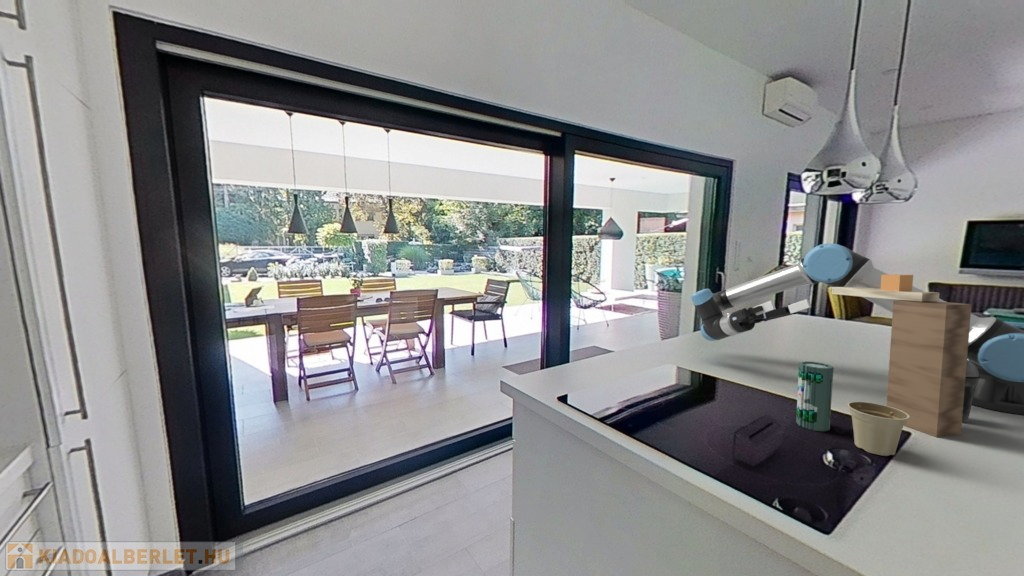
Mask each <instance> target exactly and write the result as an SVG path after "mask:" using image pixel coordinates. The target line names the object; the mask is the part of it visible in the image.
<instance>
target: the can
mask: <svg viewBox="0 0 1024 576" xmlns="http://www.w3.org/2000/svg"><path fill="white" fill-rule="evenodd" d="M797 376H798V377H797V380H798V381H797V397H796V418H795V419H796V420H795V423H796V424H797V425H798V426H799V427H802V428H803V429H804V428H805V429H808V430H812V431H815V432H828V431H830V430H831V413H832V397H833V380H834V379H833V378H834V366H832V365H830V364H826V363H823V362H815V361H800V362H799V363H798V375H797Z"/></svg>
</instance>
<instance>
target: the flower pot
mask: <svg viewBox="0 0 1024 576" xmlns="http://www.w3.org/2000/svg"><path fill="white" fill-rule="evenodd" d="M886 405H887V404H881V403H876V402H870V401H869V402H868V401H861V400H860V401H849V402H847V407H848V409H849V413H850V414H851V415H850V416H851V420H852V429H853V440H854V445H855V446H856V447H857V448H858V449H862V450H864V451H866V452H867V453H869V454H873V455H878V456H882V457H888V456H895V455H896V452H897V448H898V444H899V441H900V437H901V434H902V431H903V427H905V426H904V425H905V424H906V421H907V420H908V419H909V418H910V416H909V415H908V414H907V413H905V412H903V411H901V410H899V409H896V408H893V407H889V406H886Z"/></svg>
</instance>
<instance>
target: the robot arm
mask: <svg viewBox="0 0 1024 576" xmlns="http://www.w3.org/2000/svg"><path fill="white" fill-rule="evenodd" d="M889 274H890V273H886V272H884V271H882V270H880V269H878V268H876V267H875V266H874V265H873V261H872V259H870V258H867V257H865V256H864V255H861V254H860V253H857V252H855V251H853V250H851V249H850V248H848V247H847V246H844V245H841V244H838V243H830V242H828V243H822V244H821V243H820V244H819V245H817V246H814V247H813V248H811V249H810V250H809V251H808V252H807V254H806V255H805V256H804V257H803V258H800V259H799V261H798V262H797V263H796V264H792V265H789V266H786V267H784V268H781V269H779V270H776V271H774V272H771V273H768V274H765V275H763V276H759V277H756V278H754V279H752V280H748V281H745V282H743V283H739V284H737V285H735V286H732V287H729V288H726V289H723V290H721V291H720V290H719V291H716V292H715V293H713V292H712V291H711V289H710V288H703V289H701V290H698V291H696V292H694V293H693V294H691V295H690V298H691V301H692V304H693V305H694V307H695V310H696V312H697V314H698V315H699V317H700V319H701V321H702V325H700V334H701V336H702V338H703V339H704V340H706V341H709V342H715V341H720V340H723V339H726V338H728V337H734V336H735V335H739V334H743V333H746V332H748V331H752V330H753V329H754V327H755V326H756V324H759V323H762V322H768V321H771V320H774V319H780V318H783V317H784V318H785V317H788V316H792V315H797V313H798V312H801V311H804V310H807V309H810V308H812V305H811V303H810V300H809V299H808V298H805V299H802V300H800V301H797V302H794V303H788V304H787V306H783V307H779V308H776V305H775V303H774V300H771V299H770V300H768V301H765V302H763V303H761V304H757V305H756V306H752V307H748V309H747V308H745V307H744V308H741V309H739V310H735V311H734V312H731V313H730V312H728V313H726V314H725V315H724V314H723V312H724V311H726V310H729V309H731V308H734V307H737V306H741V305H744V304H747V303H751V302H753V301H757V300H760V299H762V298H763V299H764V298H766V297H769V296H772V295H775V294H778V293H782V292H785V291H787V290H791V289H794V288H797V287H801V286H804V285H807V284H811V285H817V284H818V283H823V284H825V285H827V286H829V287H831V288H832V287H858V288H874V289H881V276H882V275H889ZM912 291H921V292H925V291H924V290H922V289H920V288H919V287H916V286H913V285H912ZM862 298H863V299H865V300H867V301H869V302H871V303H873V304H875V305H876V306H879V307H881V308H883V309H884V310H886V311H887V312H890V313H892V314H893V301H894V300H897V299H885V298H873V297H862ZM938 302H947V301H945V300H943V299H941V298H939V301H938ZM722 311H723V312H722ZM967 360H968V361H970V362H971V363H973V364H974V365H975V366H976V368H977V369H978V372H979V376H980V378H979V380H978V383H977V385H976V387H975V392H974V396H973V401H972V405H973V406H975V407H980V408H983V409H987V410H993V411H998V412H1003V413H1009V414H1016V415H1024V322H1016V321H1015V322H1014V321H1003V320H1001V319H999V318H996V317H994V316H991V317H979V316H977V315H975V314H972V313H971V317H970V329H969V341H968V353H967ZM972 405H971V406H972Z"/></svg>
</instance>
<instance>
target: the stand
mask: <svg viewBox="0 0 1024 576" xmlns="http://www.w3.org/2000/svg"><path fill="white" fill-rule="evenodd" d="M971 314H972V304H971V303H960V302H950V301H949V302H948V301H946V302H938V301H927V302H920V301H908V300H894V301H893V313H892V318H891V319H892V320H891V332H890V334H891V335H890V349H889V360H888V361H889V363H888V365H889V366H888V376H887V377H888V378H887V379H888V380H887V391H886V395H887V396H886V404H885V405H886V406H889V407H893V408H896V409H899V410H901V411H903V412H905V413H907V414H908V415H909V416H910V418H909V419H908V420H907V421H906V424H905V425H904V426H903V427H908V428H910V429H913V430H916V431H918V432H920V433H924V434H927V435H929V436H932V437H934V438H939V437H940V438H942V437H950V436H951V437H952V436H959V435H962V424H963V423H962V414H963V402H964V390H965V378H966V366H967V360H968V359H967V353H968V341H969V329H970V317H971Z"/></svg>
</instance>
